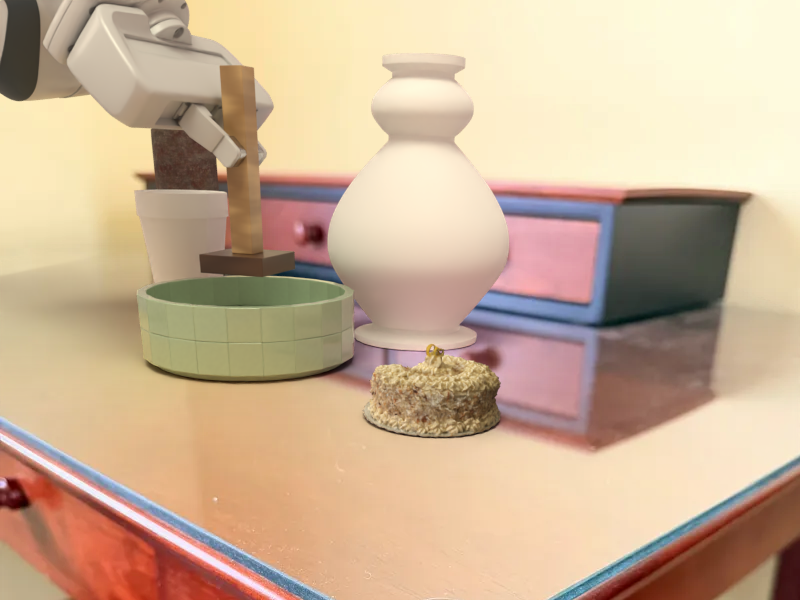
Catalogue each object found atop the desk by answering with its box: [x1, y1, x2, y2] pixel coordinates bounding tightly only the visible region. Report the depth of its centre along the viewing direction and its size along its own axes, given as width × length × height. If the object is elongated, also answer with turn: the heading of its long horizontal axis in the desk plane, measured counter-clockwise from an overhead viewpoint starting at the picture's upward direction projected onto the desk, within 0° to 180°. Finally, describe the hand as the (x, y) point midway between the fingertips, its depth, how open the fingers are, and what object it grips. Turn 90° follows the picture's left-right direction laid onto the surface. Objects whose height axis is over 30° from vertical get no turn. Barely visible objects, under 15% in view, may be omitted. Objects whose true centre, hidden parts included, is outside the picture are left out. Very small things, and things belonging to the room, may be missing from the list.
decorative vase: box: [327, 52, 510, 352], centre depth 79 cm, size 18×18×25 cm
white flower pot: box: [133, 189, 229, 283], centre depth 89 cm, size 10×9×13 cm
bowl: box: [136, 275, 355, 382], centre depth 73 cm, size 19×19×6 cm
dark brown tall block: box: [150, 128, 226, 276], centre depth 97 cm, size 8×7×20 cm
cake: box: [362, 344, 502, 438], centre depth 58 cm, size 10×10×5 cm
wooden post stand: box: [199, 64, 296, 277], centre depth 68 cm, size 6×6×16 cm
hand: (248, 161), depth 68 cm, fingers closed on wooden post stand
